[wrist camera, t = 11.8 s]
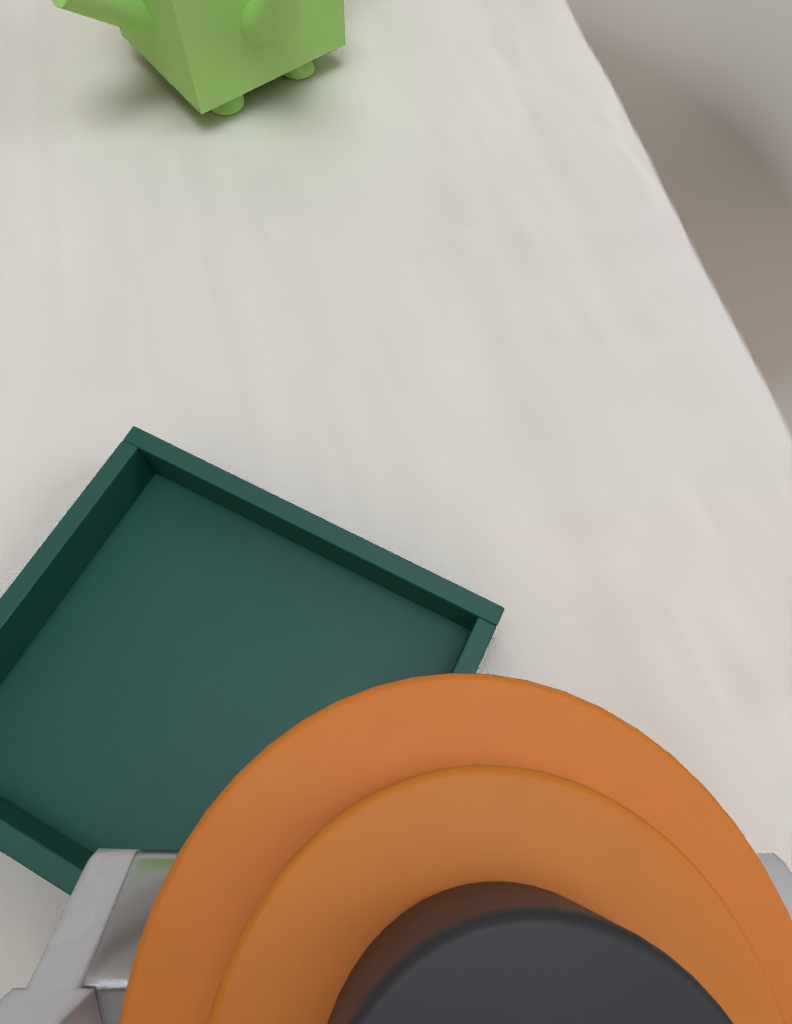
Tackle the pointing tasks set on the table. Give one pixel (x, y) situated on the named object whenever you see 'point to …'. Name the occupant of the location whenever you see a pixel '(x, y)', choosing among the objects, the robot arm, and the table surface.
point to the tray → (190, 650)
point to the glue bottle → (464, 876)
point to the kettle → (223, 41)
